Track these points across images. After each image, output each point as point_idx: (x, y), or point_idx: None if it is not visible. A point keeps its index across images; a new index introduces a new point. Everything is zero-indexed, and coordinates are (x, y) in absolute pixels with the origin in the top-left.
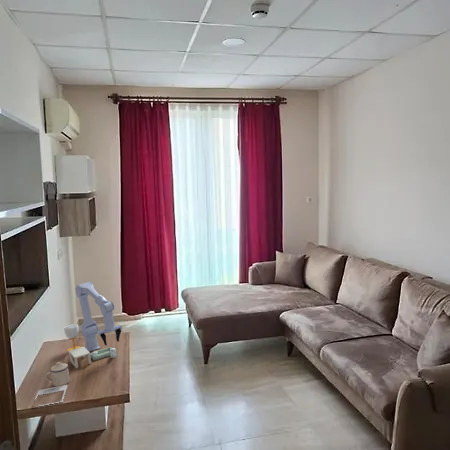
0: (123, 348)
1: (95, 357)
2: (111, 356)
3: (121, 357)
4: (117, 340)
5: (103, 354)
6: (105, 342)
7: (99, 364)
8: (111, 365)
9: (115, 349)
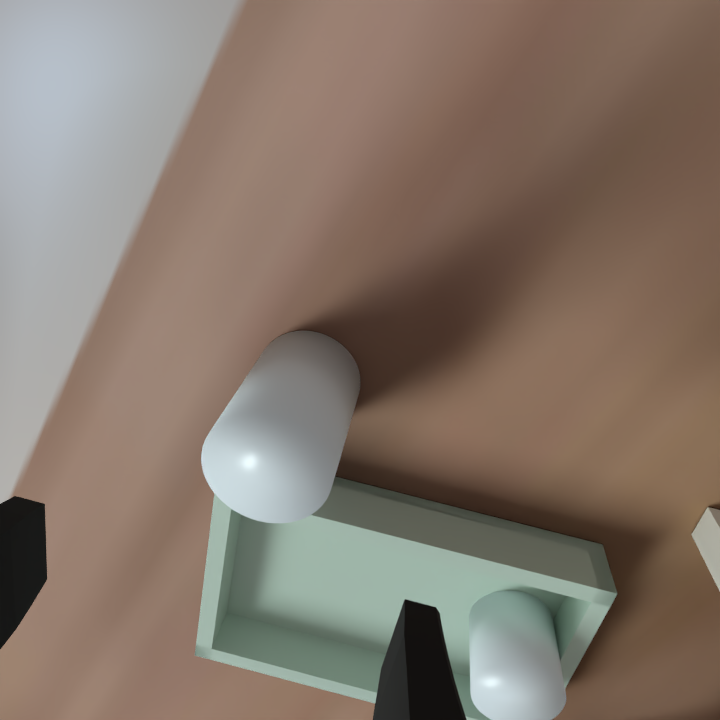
0: (44, 491)
1: (584, 575)
2: (355, 387)
3: (228, 215)
4: (22, 548)
5: (431, 541)
6: (445, 697)
7: (676, 343)
8: (594, 45)
9: (227, 413)
